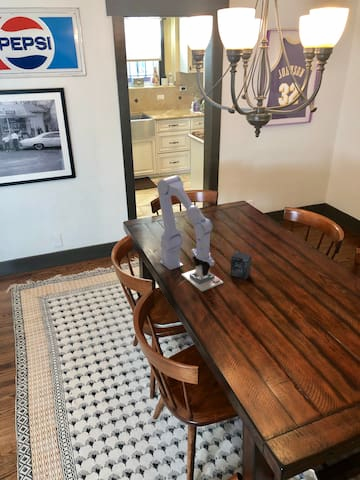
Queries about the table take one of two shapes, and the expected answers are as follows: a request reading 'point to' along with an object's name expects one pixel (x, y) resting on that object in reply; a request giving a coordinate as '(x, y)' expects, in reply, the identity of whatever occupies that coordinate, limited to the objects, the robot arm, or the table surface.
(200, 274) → the plug
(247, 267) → the box
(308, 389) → the table surface
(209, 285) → the socket plate
